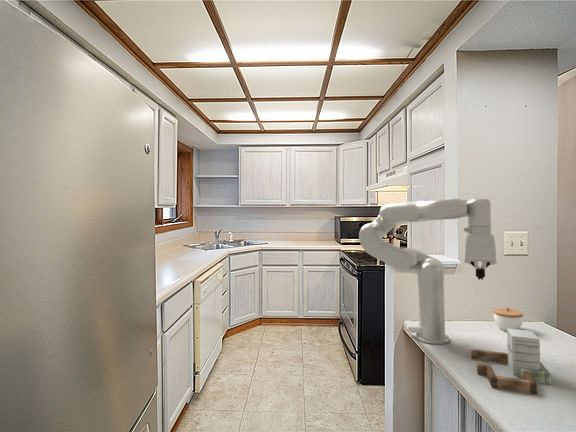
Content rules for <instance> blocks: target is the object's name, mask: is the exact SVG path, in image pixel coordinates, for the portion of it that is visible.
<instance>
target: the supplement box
mask: <svg viewBox="0 0 576 432" xmlns="http://www.w3.org/2000/svg"><path fill="white" fill-rule="evenodd" d="M506 337H507V338H506V339H507V340H506V341H507V353H508V363H507V366H508V367H509V369H510V371H511V374H512V376H514V375H515V377H520V376H521V369H529V370H537V371H540V362H541V345H540V344H541V343H540V342H541V340H540V337H538V336H537V334H536V333H535V332H534V331H533V330H528V329H507V331H506Z"/></svg>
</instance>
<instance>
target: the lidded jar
mask: <svg viewBox="0 0 576 432" xmlns="http://www.w3.org/2000/svg"><path fill="white" fill-rule="evenodd" d="M493 320H494V321H495V324H496V325H497V326H498V328H499V329H500V330H502V331H505V332H507V329H518V330H520V328H521V327H522V325H523V320H524V313H523V312H522V311H520V310H518V309H514V308H510V307H496V308H494V309H493Z"/></svg>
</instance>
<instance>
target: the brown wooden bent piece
mask: <svg viewBox="0 0 576 432" xmlns="http://www.w3.org/2000/svg"><path fill="white" fill-rule="evenodd" d="M486 370H487V376H486V378H487V380H488V383H489V385H490V387H491V389H498V390H504V391H505V390H506V391H513V392H520V393H526V394H530V395H531V394H533V395H537V394H538V384H537V382H535V381H534V379H533V378H532V376H531V375H530V373H529V372H528V371H522V376H523V379H521V378H515V377H508V376H501V375H496V373H495V370H494V368H493V367H488V366H486Z"/></svg>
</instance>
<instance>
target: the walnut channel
mask: <svg viewBox="0 0 576 432" xmlns="http://www.w3.org/2000/svg"><path fill="white" fill-rule="evenodd" d="M470 354H471V355H470V356H471V357H470V358H471V360H475V361H482V362H483V361H484V362H491V361H492V362H493V363H499V362H501V364H508V352H502V351H493V350H492V351H491V350H483V349H474V348H471V349H470ZM492 362H491V363H492ZM486 366H488V367H492V364H486V363H478V362H477V363H476V374H477V375H478V374H479V376H485V375H486V377H487V370H486ZM492 368H493V367H492ZM522 371H528V372H529V373H530V375H531V376H532V378H533V379H534V381H535V382H536V383H539V384H544V385H545V384H546V385H551V383H552V381H551V380H552V379H551V377H552V376H551V373H550V371H549V370H548V369H547V368H546V367H545V365H543V363H542V362H541V361H540V371H537V370H529V369H521V377H520V379H523V376H522Z"/></svg>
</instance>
